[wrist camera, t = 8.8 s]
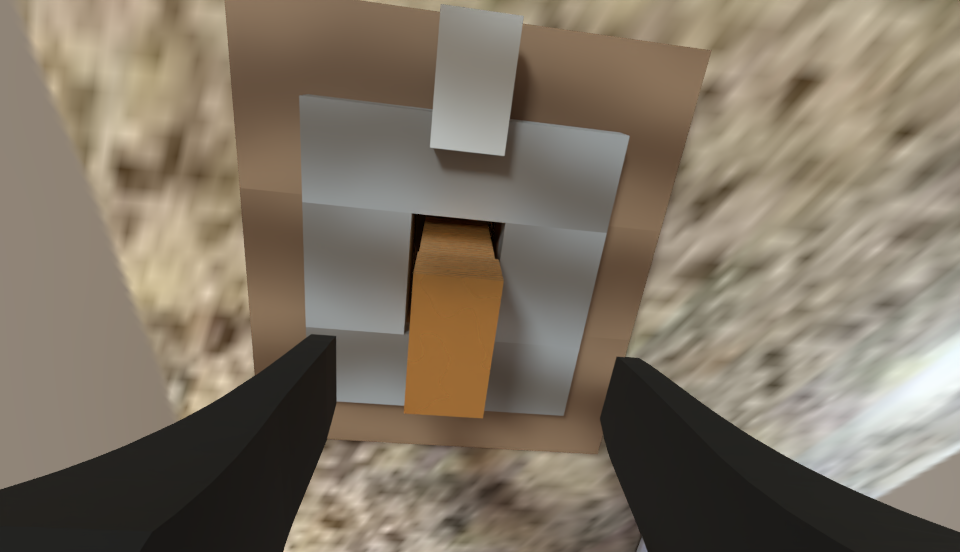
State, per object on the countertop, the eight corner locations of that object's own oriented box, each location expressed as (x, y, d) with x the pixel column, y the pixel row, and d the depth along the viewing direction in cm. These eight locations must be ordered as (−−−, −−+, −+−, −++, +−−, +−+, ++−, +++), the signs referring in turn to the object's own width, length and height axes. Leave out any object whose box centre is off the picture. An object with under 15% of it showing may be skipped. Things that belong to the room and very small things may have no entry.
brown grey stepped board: (586, 426, 25) (609, 487, 21) (274, 406, 23) (241, 468, 20) (685, 52, 18) (744, 47, 14) (248, -9, 16) (189, -32, 13)
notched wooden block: (473, 301, 22) (482, 418, 14) (421, 296, 21) (403, 413, 14) (485, 204, 20) (503, 281, 13) (428, 197, 20) (413, 273, 12)
